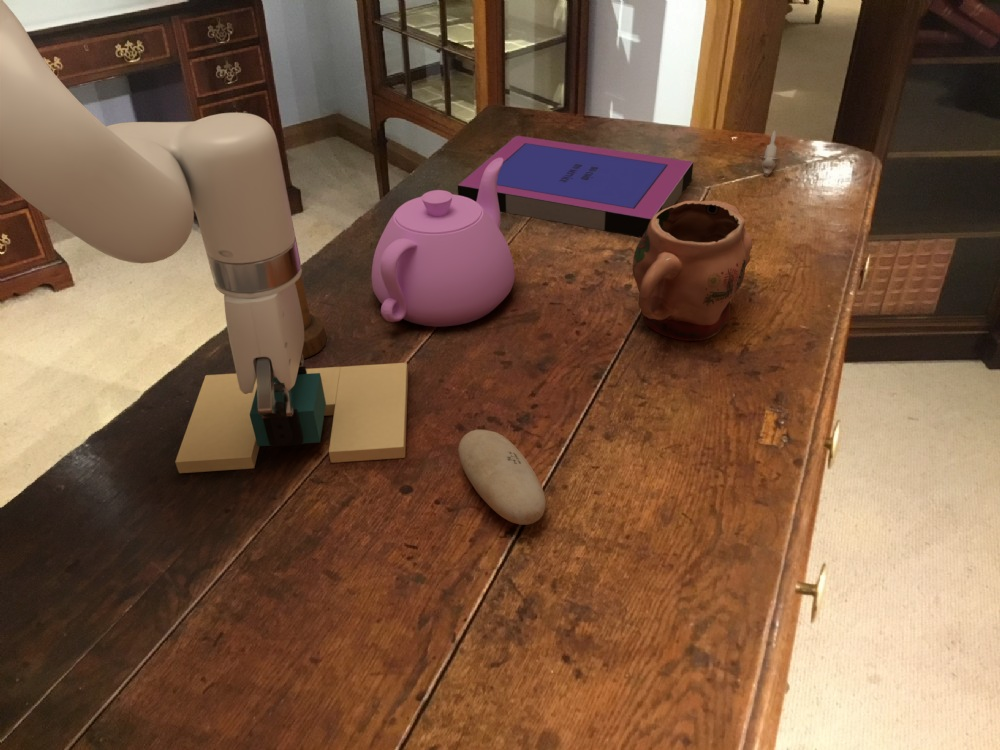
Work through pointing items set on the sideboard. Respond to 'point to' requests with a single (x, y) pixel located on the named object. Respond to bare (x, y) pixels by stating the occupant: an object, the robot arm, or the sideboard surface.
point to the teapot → (444, 258)
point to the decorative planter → (691, 268)
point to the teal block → (307, 403)
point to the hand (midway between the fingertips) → (291, 420)
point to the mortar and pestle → (310, 325)
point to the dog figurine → (770, 156)
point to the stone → (502, 476)
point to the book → (583, 184)
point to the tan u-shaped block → (349, 397)
